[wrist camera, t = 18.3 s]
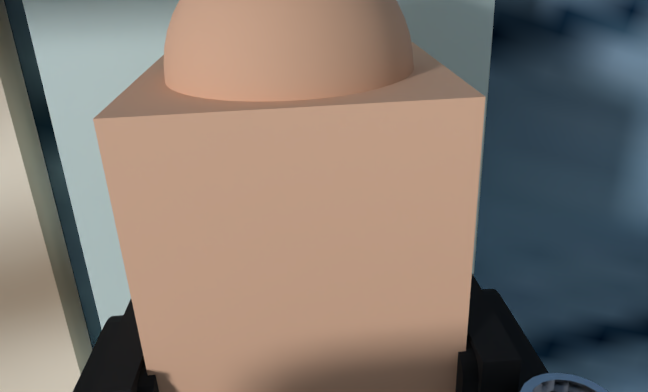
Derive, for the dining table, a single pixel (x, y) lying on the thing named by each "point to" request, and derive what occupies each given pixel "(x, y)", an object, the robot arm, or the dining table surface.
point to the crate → (32, 252)
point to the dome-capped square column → (296, 200)
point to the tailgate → (141, 53)
